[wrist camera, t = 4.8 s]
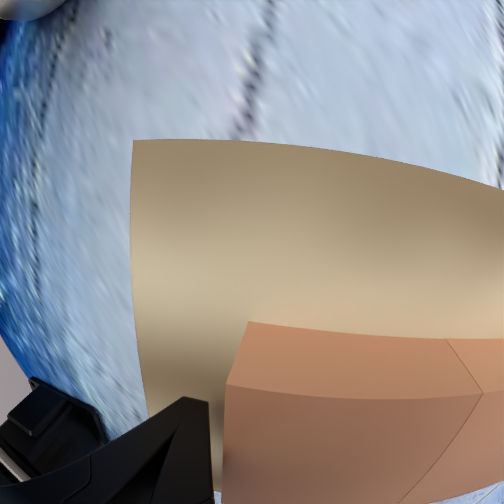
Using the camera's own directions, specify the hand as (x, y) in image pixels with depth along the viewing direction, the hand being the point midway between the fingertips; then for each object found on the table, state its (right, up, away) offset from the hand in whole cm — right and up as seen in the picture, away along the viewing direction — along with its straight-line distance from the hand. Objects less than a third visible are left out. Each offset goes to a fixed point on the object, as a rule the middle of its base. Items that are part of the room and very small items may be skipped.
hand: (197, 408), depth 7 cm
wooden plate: (+7, 0, +3) cm, 8 cm away
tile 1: (+4, 0, 0) cm, 4 cm away
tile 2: (+9, -1, 0) cm, 9 cm away
